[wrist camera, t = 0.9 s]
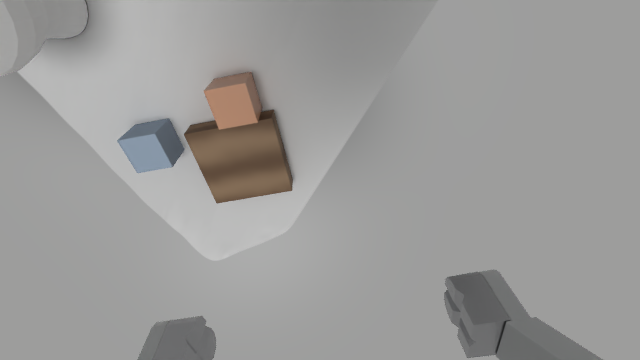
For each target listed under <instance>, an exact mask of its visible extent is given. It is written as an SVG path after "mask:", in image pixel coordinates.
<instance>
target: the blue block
mask: <svg viewBox="0 0 640 360" xmlns="http://www.w3.org/2000/svg"><path fill="white" fill-rule="evenodd" d="M117 141H118V143H119V145H120V146H121V148H122V149H123V151H124V153H125V154H126V156H127V157H128V159H129V161H130V162H131V164H132V165H133V167H134V169H135V170H136V172H137V173H141V172H147V171H153V170H158V169H164V168H169V167H173V166H174V164H175V163H176V161H177V160H178V158H179V157H180V155H181V154H182V152H183V151H184V148H183V145H182V143H181V141H180V139H179V137H178V135H177V133H176V131H175V129H174V127H173V125H172V123H171V121H170V119H163V120H158V121H153V122H147V123H142V124H137V125H134V126H133V127H132V128H131V129H130V130H129V131H127V132H126V133H125V134H124V135H123V136H122V137H121V138H120V139H118V140H117Z"/></svg>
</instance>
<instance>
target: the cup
mask: <svg viewBox="0 0 640 360" xmlns="http://www.w3.org/2000/svg"><path fill="white" fill-rule="evenodd" d="M87 19H88V11H87V5H86V2H85V0H0V76H4V75H7V74H10V73H12V72H15V71H18V70H20V69H22V68H23V67H24V66H25V65H26V64H28V63H29V62H30V61H31V60H32V59H33V58H34V57H35V56H36V55H37V54H38V53H39V52H40V50H41V48H42V46H43V44H44V41H45V40H46V39H63V38H71V37H74V36H77V35H79V34H80V33H81V32H82V31H83V30H84V28H85V26H86V25H87Z"/></svg>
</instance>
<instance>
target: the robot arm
mask: <svg viewBox="0 0 640 360" xmlns="http://www.w3.org/2000/svg"><path fill="white" fill-rule="evenodd" d="M445 282H446V283H445V285H446V287H447V289H448V290H447V291H446V292H445V294H444V300H445V305H446V309H447V312H448V315H449V318H450V320H451V322H452V323H453V324H454V325H456V326H457V327H458V328H459V329H458V338H459V340H460V343H461V345H462V347H463V349H464V352H465V354H466V356H467V358H471V357H480V356H489V355H496V357H497V358H499V359H500V360H603V359H601V358H599V357H598V356H596V355H595V354H593V353H592V352H590V351H588V350H587V349H585V348H583V347H582V346H580V345H579V344H577V343H576V342H574V341H573V340H571V339H569V338H568V337H566V336H565V335H563V334H562V333H560V332H559V331H557V330H555V329H554V328H552V327H551V326H549V325H547V324H546V323H544V322H542V321H541V320H539V319H538V318H536V317H534V318H531V317H530V316H529V315H528V313H527V312H526V310H525V309H524V307H523V306H522V304H521V303H520V302H519V300H518V299H517V297H516V296H515V294H514V293H513V291H512V290H511V288H510V287H509V286H508V284H507V283H506V281H505V280H504V278H503V277H502V276H501V274H500V273H499V272H498V271H497V270H488V271H482V272H474V273H468V274H462V275H456V276H451V277H447V278H446V281H445ZM205 324H206V320H205V319H204V318H203V316H198V317H191V318H184V319H177V320H169V321H163V322H157V323H156V324H155V325H154V326H153V327H152V328H151V330H150V333H149V335H148V337H147V339H146V342H145V344H144V346H143V349H142V351H141V353H140V355H139V357H138V360H212V359H213V358H214V354H215V349H216V337H215V334H214V332H213V330H212V329H211V328H209V327H207V326H205Z"/></svg>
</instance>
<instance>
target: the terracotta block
mask: <svg viewBox="0 0 640 360" xmlns="http://www.w3.org/2000/svg"><path fill="white" fill-rule="evenodd" d="M204 93H205V96H206V98H207V101H208V103H209V106H210V108H211V111H212V113H213V116H214V118H215V121H216V123H217V126H218V128H219V130H220V129H226V128H231V127H237V126H242V125H247V124H253V123H258V120H259V117H260V113H261V110H262V106H261V103H260V99H259V96H258V93H257V89H256V86H255V83H254V79H253V76H252V72H247V73H242V74H237V75H232V76H226V77H221V78H216V79H213V81H212V82H211V83H210V84H209V85H208V86H207V88H206V89H205V90H204Z"/></svg>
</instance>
